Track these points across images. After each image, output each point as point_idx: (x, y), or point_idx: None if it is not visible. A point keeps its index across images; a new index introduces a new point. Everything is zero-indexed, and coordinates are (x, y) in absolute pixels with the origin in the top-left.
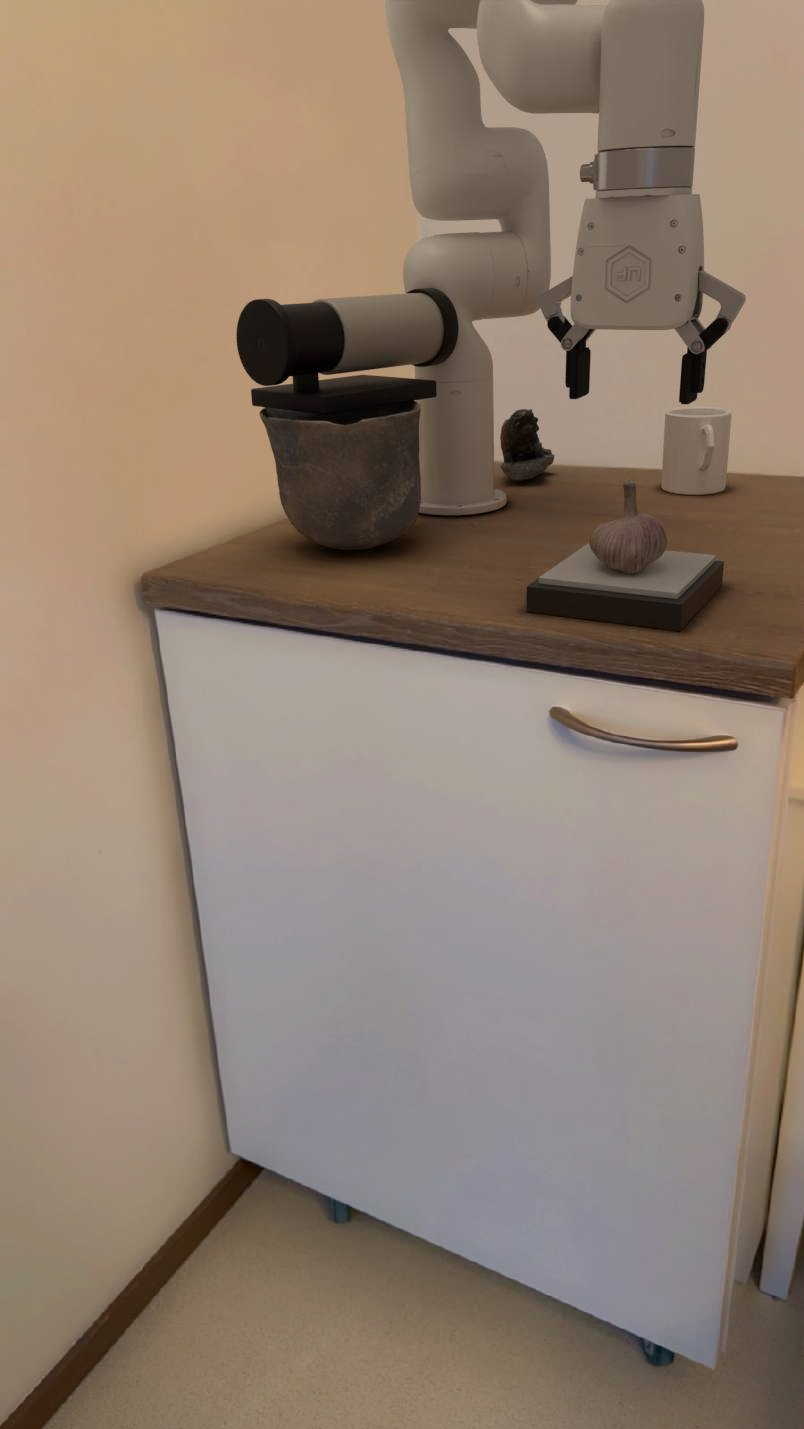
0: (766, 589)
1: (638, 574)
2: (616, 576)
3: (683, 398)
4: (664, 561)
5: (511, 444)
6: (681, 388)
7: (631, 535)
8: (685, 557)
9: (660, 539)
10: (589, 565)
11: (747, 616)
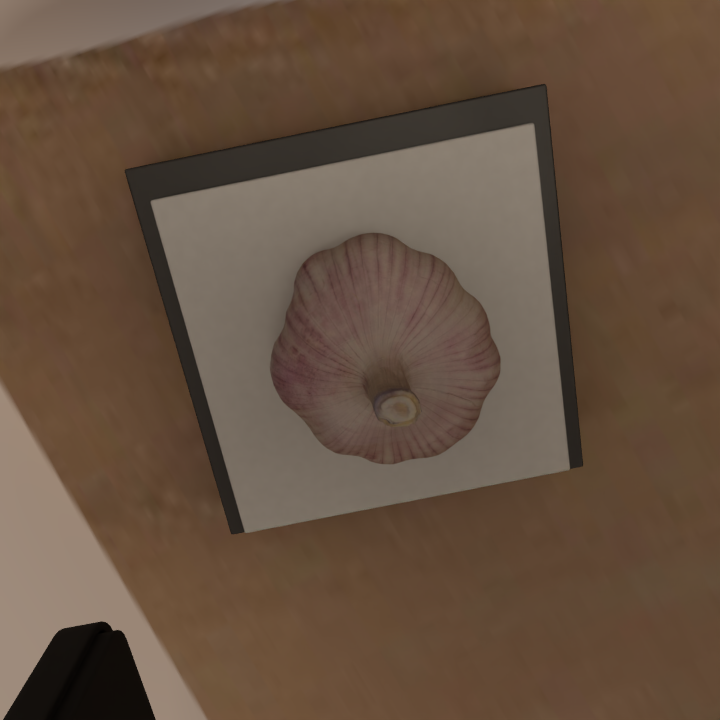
0: (152, 530)
1: None
2: None
3: (72, 638)
4: None
5: None
6: (71, 693)
7: (334, 295)
8: (295, 479)
9: (273, 354)
10: None
11: (86, 349)
